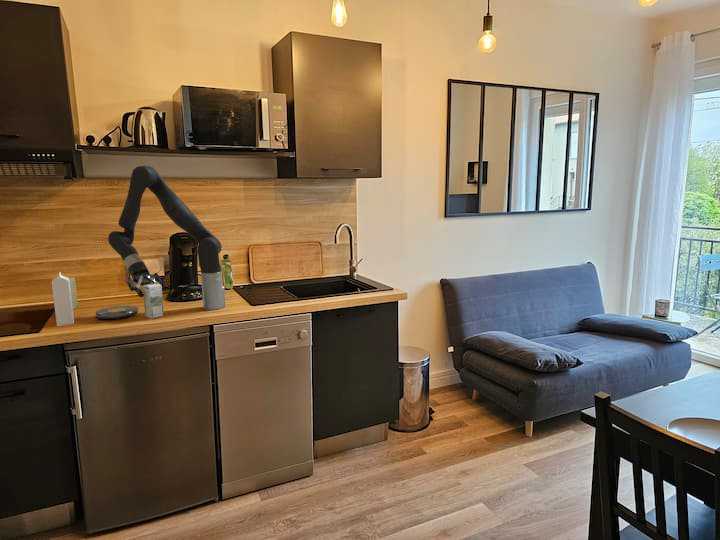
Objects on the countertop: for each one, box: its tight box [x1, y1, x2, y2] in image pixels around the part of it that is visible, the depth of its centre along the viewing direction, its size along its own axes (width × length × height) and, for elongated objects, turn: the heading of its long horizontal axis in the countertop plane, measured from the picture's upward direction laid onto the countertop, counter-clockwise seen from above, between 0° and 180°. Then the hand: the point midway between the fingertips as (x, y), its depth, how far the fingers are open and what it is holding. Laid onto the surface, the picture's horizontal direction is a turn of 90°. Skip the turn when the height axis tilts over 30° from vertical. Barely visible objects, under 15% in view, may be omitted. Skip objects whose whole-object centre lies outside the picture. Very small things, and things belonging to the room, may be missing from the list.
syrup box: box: [142, 283, 165, 320], centre depth 213 cm, size 6×6×14 cm
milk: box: [51, 271, 75, 327], centre depth 204 cm, size 6×6×22 cm
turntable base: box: [105, 316, 131, 321], centre depth 217 cm, size 12×12×1 cm
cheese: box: [51, 276, 78, 310], centre depth 223 cm, size 22×10×15 cm, turn 27°
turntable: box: [95, 305, 139, 320], centre depth 216 cm, size 17×17×2 cm
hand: (151, 294), depth 214 cm, fingers open, 8 cm apart
